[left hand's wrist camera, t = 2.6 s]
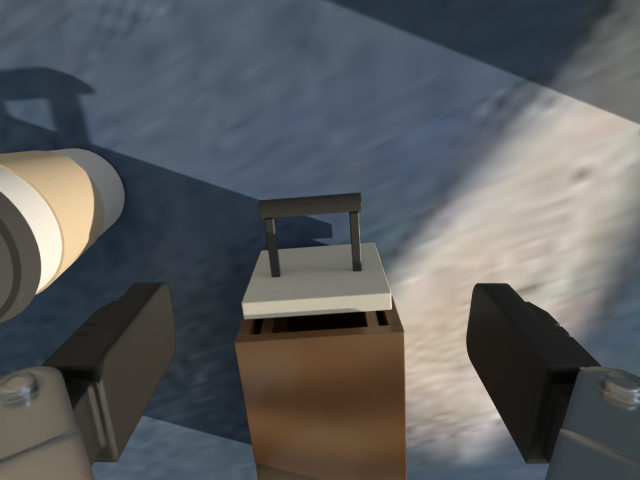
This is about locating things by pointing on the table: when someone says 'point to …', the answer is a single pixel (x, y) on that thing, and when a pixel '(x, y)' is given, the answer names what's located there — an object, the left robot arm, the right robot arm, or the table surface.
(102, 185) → the coffee cup
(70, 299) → the table surface
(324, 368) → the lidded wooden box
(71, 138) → the table surface
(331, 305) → the drawer
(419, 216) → the table surface
